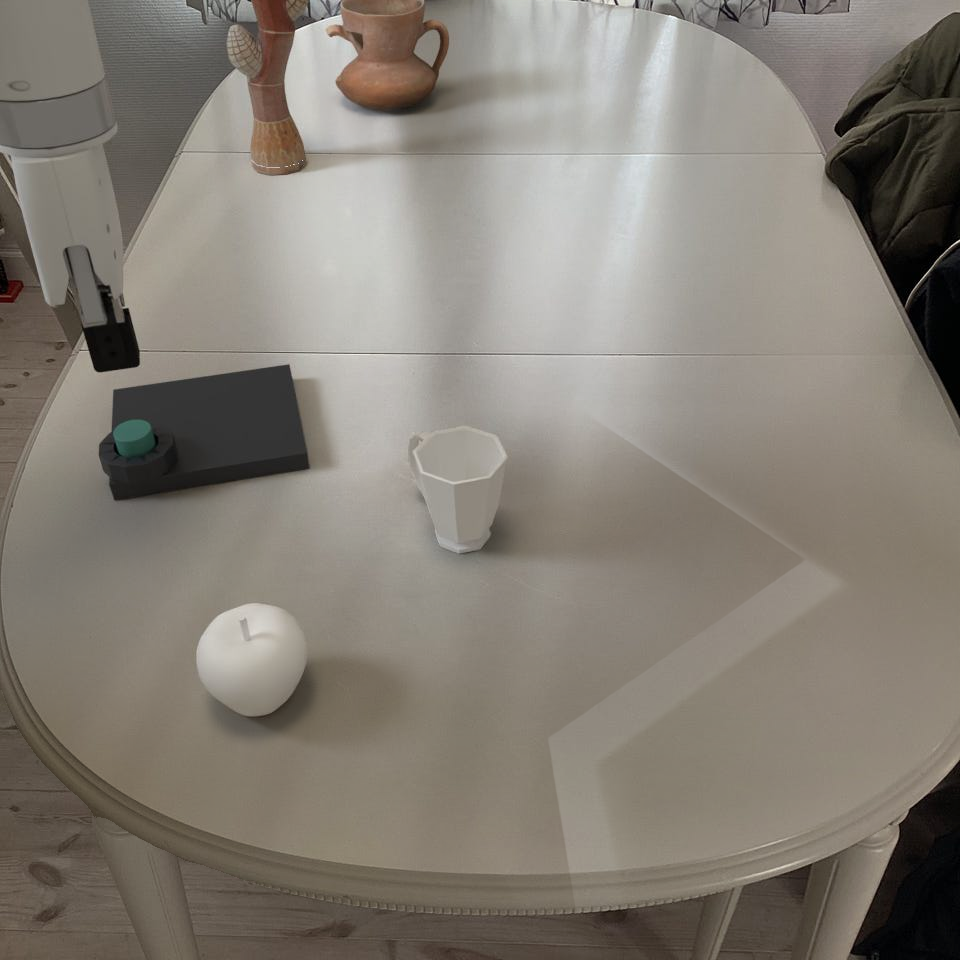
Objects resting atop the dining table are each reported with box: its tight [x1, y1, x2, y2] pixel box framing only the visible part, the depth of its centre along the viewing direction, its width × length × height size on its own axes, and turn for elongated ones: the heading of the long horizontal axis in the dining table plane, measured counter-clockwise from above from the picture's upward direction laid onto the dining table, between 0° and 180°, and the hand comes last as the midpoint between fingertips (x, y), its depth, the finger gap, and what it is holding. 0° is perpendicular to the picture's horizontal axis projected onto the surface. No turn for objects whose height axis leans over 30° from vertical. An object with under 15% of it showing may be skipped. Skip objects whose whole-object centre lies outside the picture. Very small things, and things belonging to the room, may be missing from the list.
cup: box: [407, 425, 509, 555], centre depth 78 cm, size 7×10×8 cm
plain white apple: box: [195, 602, 308, 717], centre depth 65 cm, size 7×7×8 cm
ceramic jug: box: [325, 0, 450, 110], centre depth 150 cm, size 18×14×14 cm
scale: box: [98, 363, 310, 501], centre depth 88 cm, size 16×14×4 cm
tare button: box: [113, 420, 156, 458], centre depth 83 cm, size 3×3×2 cm
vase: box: [226, 0, 309, 176], centre depth 127 cm, size 10×7×30 cm
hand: (118, 363), depth 74 cm, fingers closed
